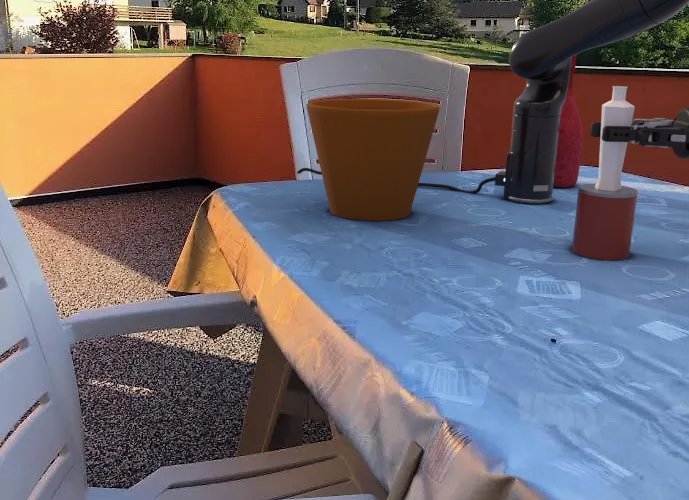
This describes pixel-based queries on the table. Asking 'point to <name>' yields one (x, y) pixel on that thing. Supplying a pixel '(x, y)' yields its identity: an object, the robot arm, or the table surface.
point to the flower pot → (371, 153)
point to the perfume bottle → (613, 152)
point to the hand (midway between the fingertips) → (597, 131)
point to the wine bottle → (568, 139)
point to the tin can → (604, 222)
